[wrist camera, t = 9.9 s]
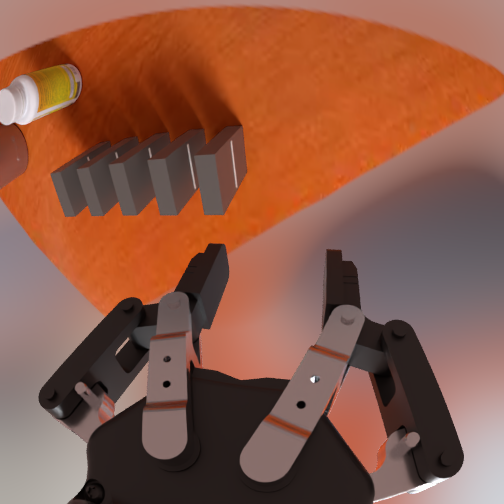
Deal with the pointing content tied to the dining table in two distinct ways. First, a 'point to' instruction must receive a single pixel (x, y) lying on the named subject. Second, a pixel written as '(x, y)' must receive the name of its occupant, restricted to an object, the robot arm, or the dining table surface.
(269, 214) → the dining table surface
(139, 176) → the tile
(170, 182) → the tile
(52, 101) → the supplement bottle
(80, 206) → the end tile
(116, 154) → the tile
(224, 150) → the lead tile
